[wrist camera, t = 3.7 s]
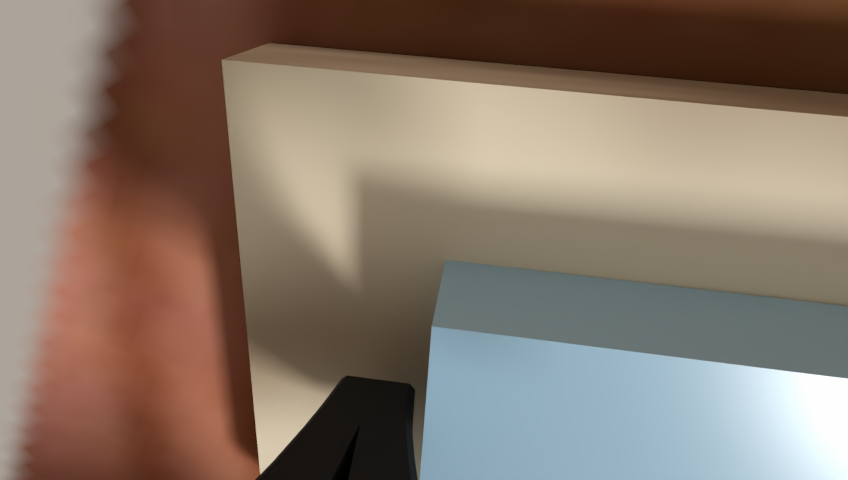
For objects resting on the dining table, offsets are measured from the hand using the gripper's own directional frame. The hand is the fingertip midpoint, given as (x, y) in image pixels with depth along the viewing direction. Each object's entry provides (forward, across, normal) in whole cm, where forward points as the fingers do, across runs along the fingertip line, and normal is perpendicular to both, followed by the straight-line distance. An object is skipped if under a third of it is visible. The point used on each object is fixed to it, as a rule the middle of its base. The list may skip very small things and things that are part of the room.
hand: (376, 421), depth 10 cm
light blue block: (+1, -5, 0) cm, 5 cm away
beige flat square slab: (+3, -3, 0) cm, 4 cm away
